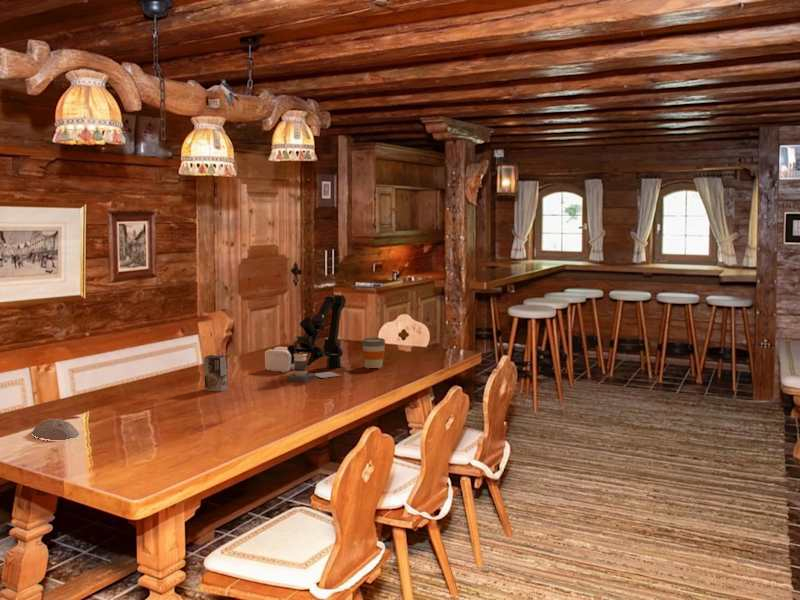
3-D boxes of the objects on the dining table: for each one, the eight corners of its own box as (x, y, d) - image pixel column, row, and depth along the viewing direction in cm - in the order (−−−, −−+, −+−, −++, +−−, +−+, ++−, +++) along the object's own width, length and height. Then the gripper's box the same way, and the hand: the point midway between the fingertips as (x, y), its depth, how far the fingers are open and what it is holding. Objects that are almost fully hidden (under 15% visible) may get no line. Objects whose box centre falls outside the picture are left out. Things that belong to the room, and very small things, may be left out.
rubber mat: (330, 372, 407) (330, 371, 407) (340, 376, 398) (340, 375, 398) (311, 375, 401) (311, 373, 401) (321, 378, 392) (321, 377, 392)
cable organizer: (299, 369, 416) (298, 348, 415) (287, 373, 406) (287, 351, 405) (275, 367, 422) (275, 346, 421) (264, 371, 413) (263, 349, 412)
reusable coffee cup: (358, 368, 418) (358, 340, 417) (368, 364, 430) (367, 337, 428) (379, 370, 414) (379, 342, 412) (389, 365, 425) (388, 338, 424)
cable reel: (303, 377, 395) (303, 352, 393) (309, 380, 389) (309, 354, 388) (291, 379, 391) (291, 353, 390) (297, 381, 386) (297, 355, 384)
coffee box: (228, 389, 370) (227, 355, 368) (221, 391, 364) (220, 357, 362) (211, 387, 373) (210, 354, 371) (204, 390, 367) (203, 356, 365)
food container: (62, 423, 309) (59, 407, 307) (90, 439, 292) (88, 422, 290) (21, 435, 298) (19, 418, 297) (48, 452, 281) (46, 434, 279)
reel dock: (297, 376, 397) (297, 372, 397) (315, 378, 393) (315, 373, 393) (286, 380, 388) (286, 375, 387) (304, 382, 383) (304, 377, 383)
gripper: (288, 328, 396) (277, 353, 387) (321, 330, 388) (310, 356, 379) (296, 342, 404) (286, 366, 395) (328, 344, 396) (318, 369, 387)
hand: (299, 364), depth 389 cm, fingers open, 9 cm apart
